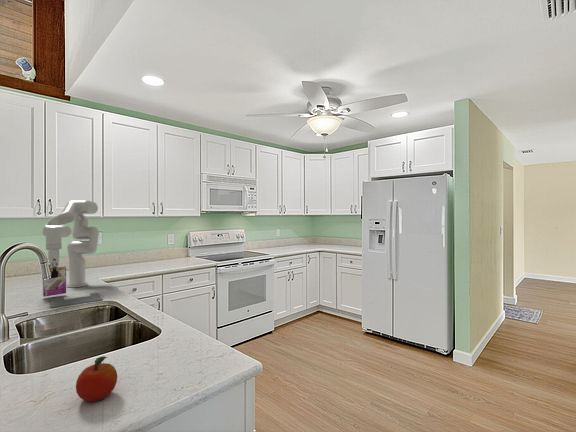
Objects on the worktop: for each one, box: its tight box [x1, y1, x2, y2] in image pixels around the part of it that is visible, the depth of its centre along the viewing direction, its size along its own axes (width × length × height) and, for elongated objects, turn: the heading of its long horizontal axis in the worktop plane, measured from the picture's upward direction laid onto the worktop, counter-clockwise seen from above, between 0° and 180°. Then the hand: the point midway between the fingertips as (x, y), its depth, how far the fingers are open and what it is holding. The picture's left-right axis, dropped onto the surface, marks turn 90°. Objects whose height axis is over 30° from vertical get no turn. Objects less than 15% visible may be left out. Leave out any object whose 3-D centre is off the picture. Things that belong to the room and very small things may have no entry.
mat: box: [49, 292, 103, 309], centre depth 178 cm, size 20×24×1 cm
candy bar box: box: [42, 265, 67, 297], centre depth 185 cm, size 11×5×16 cm, turn 134°
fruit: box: [75, 356, 118, 403], centre depth 82 cm, size 10×10×10 cm
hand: (54, 276), depth 185 cm, fingers closed on candy bar box, 5 cm apart
